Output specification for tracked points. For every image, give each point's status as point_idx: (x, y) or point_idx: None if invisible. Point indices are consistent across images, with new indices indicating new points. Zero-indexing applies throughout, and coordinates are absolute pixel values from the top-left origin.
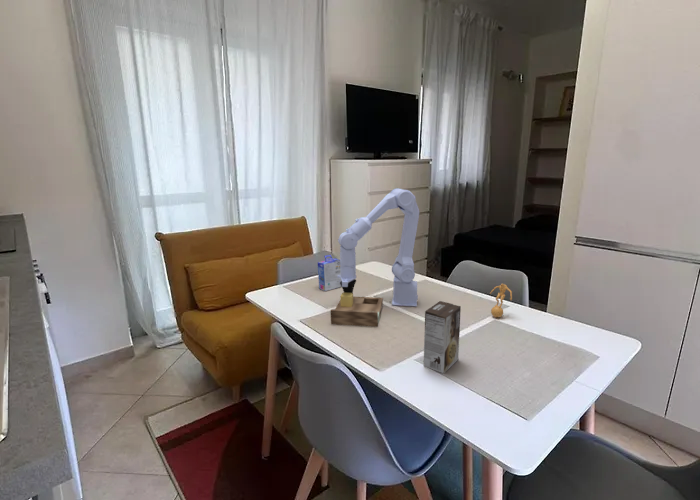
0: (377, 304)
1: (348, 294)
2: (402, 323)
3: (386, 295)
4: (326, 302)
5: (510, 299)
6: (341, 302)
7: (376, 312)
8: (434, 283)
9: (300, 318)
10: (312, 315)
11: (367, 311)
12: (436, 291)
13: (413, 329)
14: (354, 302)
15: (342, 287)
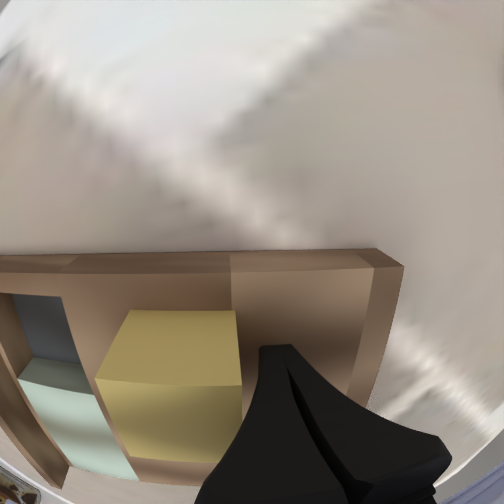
0: None
1: (181, 440)
2: (136, 491)
3: (422, 424)
4: (359, 114)
5: None
6: (119, 340)
7: (52, 484)
8: (458, 465)
9: (30, 36)
10: (67, 80)
11: (37, 465)
12: None
13: (110, 497)
14: (249, 392)
15: (225, 455)
